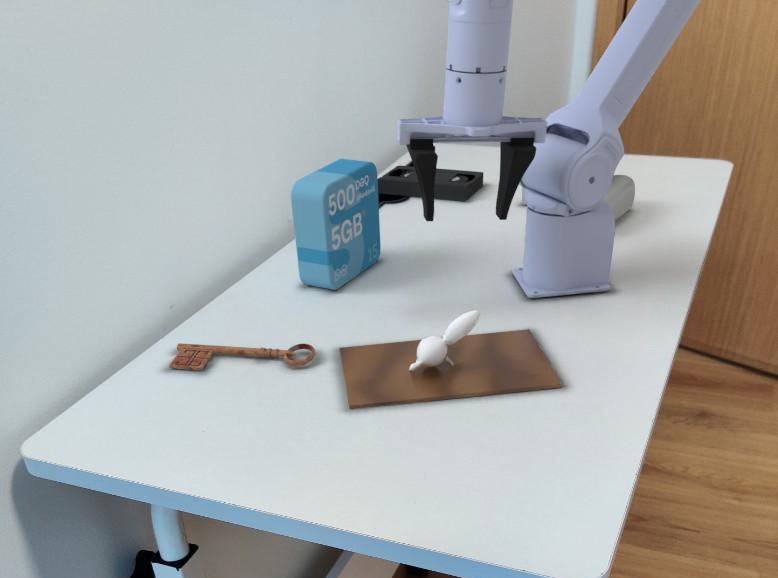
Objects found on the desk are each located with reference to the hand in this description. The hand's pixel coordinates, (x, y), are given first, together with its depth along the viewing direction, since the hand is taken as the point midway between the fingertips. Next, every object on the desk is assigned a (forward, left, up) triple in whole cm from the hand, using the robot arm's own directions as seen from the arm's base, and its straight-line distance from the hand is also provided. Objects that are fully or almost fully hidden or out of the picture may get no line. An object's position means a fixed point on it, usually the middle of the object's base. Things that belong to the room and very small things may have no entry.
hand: (464, 217), depth 87 cm
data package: (+12, -14, -10) cm, 21 cm away
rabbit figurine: (+4, +13, -10) cm, 17 cm away
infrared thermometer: (-20, -27, -10) cm, 35 cm away
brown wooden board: (+4, +13, -10) cm, 17 cm away
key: (+24, +7, -10) cm, 27 cm away
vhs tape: (-4, -44, -10) cm, 45 cm away
